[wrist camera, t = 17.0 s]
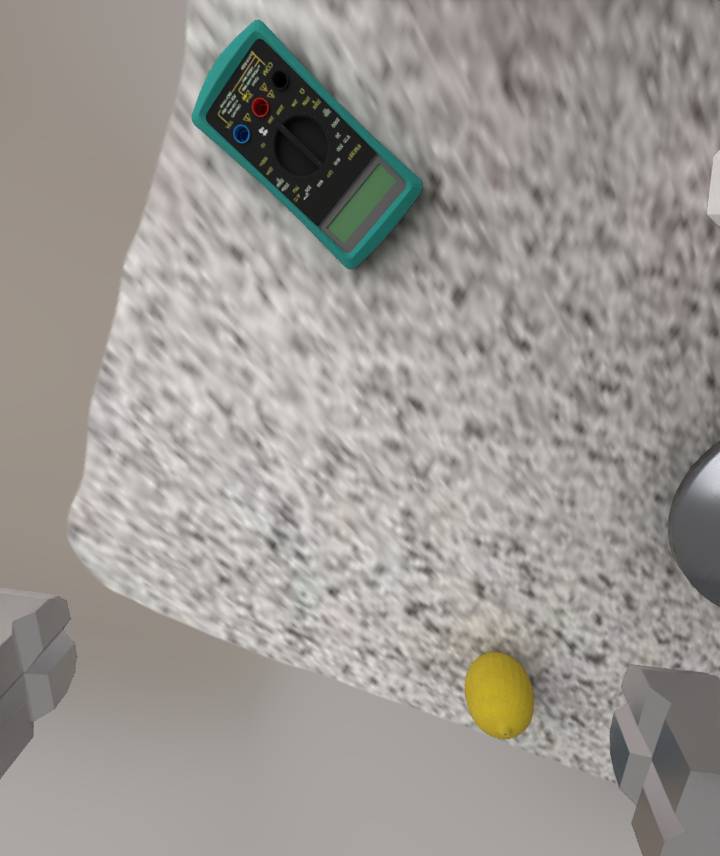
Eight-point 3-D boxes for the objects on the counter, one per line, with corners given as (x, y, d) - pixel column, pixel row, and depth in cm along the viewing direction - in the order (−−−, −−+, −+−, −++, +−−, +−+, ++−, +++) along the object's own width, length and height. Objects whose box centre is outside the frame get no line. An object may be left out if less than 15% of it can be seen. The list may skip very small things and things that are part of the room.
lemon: (469, 685, 51) (477, 764, 43) (456, 637, 49) (461, 711, 42) (530, 677, 50) (548, 756, 42) (518, 628, 48) (535, 701, 41)
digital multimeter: (260, 21, 35) (246, 4, 32) (428, 189, 37) (428, 186, 35) (195, 120, 37) (177, 111, 35) (356, 272, 40) (351, 275, 37)
